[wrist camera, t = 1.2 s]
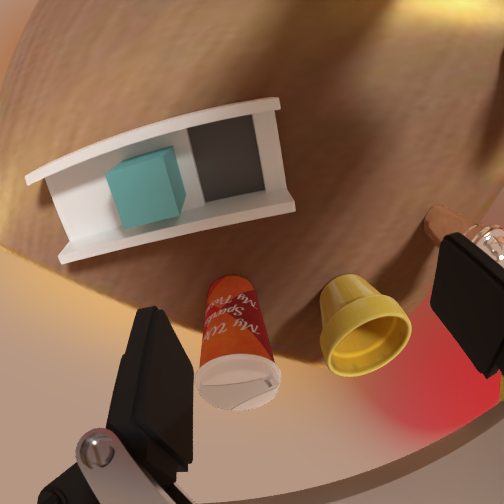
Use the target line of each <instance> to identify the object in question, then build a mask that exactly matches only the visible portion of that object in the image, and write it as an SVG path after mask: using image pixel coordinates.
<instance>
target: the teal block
mask: <svg viewBox="0 0 504 504" xmlns="http://www.w3.org/2000/svg"><path fill="white" fill-rule="evenodd" d="M105 176H106V179H107V182H108V185H109V188H110V191H111V194H112V197H113V200H114V203H115V205H116V208H117V211H118V214H119V216H120V219H121V222H122V224H123V227H124V229H128V228H132V227H136V226H140V225H144V224H148V223H152V222H156V221H160V220H164V219H168V218H173V217H177V216H180V214H181V210H182V207H183V204H184V201H185V198H186V192H185V189H184V185H183V181H182V178H181V174H180V170H179V166H178V163H177V159H176V155H175V151H174V147H173V145H172V146H168V147H165V148H161V149H158V150H154V151H151V152H147V153H144V154H141V155H137V156H134V157H131V158H128V159H125V160H123V161H121V162H120V163H119V164H117V165H116V166H115V167H114V168H112V169H111V170H110V171H108V172H107V173H106V174H105Z"/></svg>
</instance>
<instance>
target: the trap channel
mask: <svg viewBox="0 0 504 504" xmlns="http://www.w3.org/2000/svg"><path fill="white" fill-rule="evenodd" d="M280 109H281V107H280V101H279V97H266V98H260V99H254V100H248V101H242V102H237V103H232V104H227V105H222V106H217V107H213V108H208V109H204V110H200V111H195V112H191V113H187V114H184V115H180V116H176V117H172V118H169V119H165V120H162V121H158V122H155V123H151V124H148V125H145V126H142V127H139V128H136V129H133V130H130V131H127V132H124V133H121V134H118V135H115V136H112V137H109V138H107V139H104V140H101V141H99V142H96V143H94V144H91V145H89V146H86V147H84V148H81V149H79V150H76V151H74V152H72V153H69V154H67V155H65V156H62V157H60V158H58V159H56V160H53V161H51V162H49V163H47V164H45V165H43V166H42V167H40V168H38V169H36V170H34V171H33V172H31V173H29V174H27V175H26V176H24V177H25V180H26V183H27V185H30V184H32V183H34V182H36V181H39V180H41V179H43V178H45V180H46V183H47V186H48V189H49V192H50V194H51V197H52V200H53V202H54V205H55V207H56V210H57V212H58V215H59V217H60V220H61V222H62V224H63V227H64V229H65V231H66V234H67V236H68V238H69V240H70V241H69V243H68V244H67V245H66V246H65V248H64V249H63V250H62V251H61V253H60V254H59V255H58V258H59V260H60V262H61V264H65V263H69V262H73V261H77V260H81V259H85V258H89V257H93V256H97V255H101V254H105V253H109V252H113V251H117V250H121V249H125V248H129V247H133V246H137V245H142V244H146V243H150V242H154V241H159V240H163V239H167V238H172V237H176V236H181V235H185V234H190V233H194V232H199V231H203V230H208V229H212V228H217V227H222V226H226V225H231V224H236V223H241V222H246V221H250V220H255V219H260V218H265V217H270V216H275V215H280V214H285V213H290V212H296V208H295V201H294V199H293V198H292V196H291V195H290V193H289V192H288V190H287V187H286V180H285V173H284V167H283V160H282V154H281V147H280V141H279V135H278V129H277V123H276V117H275V111H274V110H280ZM172 145H173V147H174V151H175V155H176V159H177V163H178V166H179V170H180V174H181V178H182V181H183V185H184V189H185V192H186V198H185V201H184V204H183V207H182V210H181V214H180V216H177V217H173V218H168V219H164V220H160V221H156V222H152V223H148V224H144V225H140V226H136V227H132V228H128V229H124V227H123V224H122V222H121V219H120V216H119V214H118V211H117V208H116V205H115V203H114V200H113V197H112V194H111V191H110V188H109V185H108V182H107V179H106V176H105V174H106V173H107V172H108V171H110V170H111V169H112V168H114V167H115V166H116V165H117V164H119V163H120V162H121V161H123V160H125V159H128V158H131V157H134V156H137V155H141V154H144V153H147V152H151V151H154V150H158V149H161V148H165V147H168V146H172Z"/></svg>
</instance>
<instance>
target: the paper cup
mask: <svg viewBox="0 0 504 504" xmlns="http://www.w3.org/2000/svg"><path fill="white" fill-rule="evenodd" d="M281 377H282V375H281V371H280V369H279V367H278V366H277V365H276V364H275V361H274V358H273V354H272V350H271V347H270V343H269V339H268V335H267V331H266V327H265V324H264V320H263V317H262V313H261V310H260V306H259V303H258V299H257V296H256V293H255V290H254V287H253V285H252V284H251V283H250V282H249V281H248V280H247V279H245V278H243V277H241V276H236V275H228V276H224V277H221V278H219V279H217V280H216V281H215V282H214V283H213V284H212V285H211V287H210V289H209V293H208V299H207V306H206V313H205V322H204V330H203V340H202V349H201V359H200V368H199V370H198V371H197V373H196V376H195V383H196V388H197V390H198V391H199V394H200V396H201V397H202V398H203V399H204V400H205V401H207V402H208V403H209V404H211V405H212V406H215V407H217V408H221V409H226V410H231V411H240V410H249V409H253V408H257V407H259V406H262V405H264V404H266V403H268V402H269V401H271V400H272V399H273V398H274V397H275V395H276V394H277V392H278V389H279V384H280V381H281Z"/></svg>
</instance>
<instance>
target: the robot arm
mask: <svg viewBox="0 0 504 504" xmlns="http://www.w3.org/2000/svg"><path fill="white" fill-rule="evenodd" d="M430 305H431V308H432V309H433V311H434V312H435V313H436V315H437V316H438V317H439V319H440V320H441V321H442V322H443V324H444V325H445V326H446V328H447V329H448V330H449V331H450V333H451V334H452V335H453V337H454V338H455V340H456V341H457V342H458V343H459V345H460V346H461V348H462V349H463V350H464V352H465V353H466V355H467V356H468V357H469V359H470V360H471V361H472V363H473V364H474V366H475V367H476V369H477V370H478V371H479V372H480V373H483V374H484V376H485V378H486V379H488V378H489V377H491V376H492V375H494V374H495V373H497V371H498V369H500V371H501V389H500V401H499V403H498V404H497V405H496V406H494V407H493V408H491V409H490V410H488V411H487V412H485V413H484V414H483V415H481V416H479V417H478V418H476V419H475V420H473V421H471V422H470V423H468V424H466V425H465V426H463V427H461V428H460V429H458V430H457V431H455V432H453V433H451V434H449V435H447V436H446V437H444V438H442V439H440V440H438V441H436V442H434V443H432V444H430V445H429V446H427V447H424V448H422V449H420V450H418V451H416V452H414V453H412V454H410V455H407V456H405V457H403V458H401V459H398V460H395V461H393V462H391V463H388V464H386V465H383V466H380V467H378V468H375V469H372V470H370V471H367V472H364V473H361V474H358V475H355V476H352V477H349V478H346V479H343V480H339V481H336V482H332V483H329V484H325V485H321V486H317V487H313V488H309V489H305V490H300V491H296V492H291V493H286V494H280V495H274V496H268V497H262V498H255V499H248V500H240V501H231V502H220V503H204V504H504V268H503V267H502V266H501V265H500V264H499V263H497V262H496V261H495V260H494V259H493V258H491V257H490V256H489V255H488V254H487V253H485V252H484V251H483V250H482V249H480V248H479V247H478V246H477V245H475V244H474V243H473V242H472V241H470V240H469V239H468V238H466V237H465V236H464V235H463V234H461V233H459V232H455V233H452V234H448V235H446V236H444V238H443V240H442V241H441V243H440V249H439V255H438V262H437V268H436V274H435V279H434V285H433V290H432V295H431V300H430ZM193 380H194V371H193V367H192V364H191V362H190V360H189V358H188V356H187V355H186V353H185V351H184V349H183V347H182V345H181V343H180V341H179V339H178V338H177V336H176V334H175V332H174V330H173V328H172V326H171V324H170V322H169V320H168V318H167V316H166V314H165V312H164V311H163V310H162V309H161V310H158V308H157V307H156V306H152V307H147V308H142V309H138V310H137V312H136V316H135V319H134V323H133V326H132V330H131V333H130V337H129V341H128V344H127V348H126V352H125V354H124V355H123V356H122V358H121V362H120V366H119V370H118V374H117V378H116V382H115V386H114V391H113V395H112V400H111V405H110V409H109V414H108V419H107V424H106V428H95V429H92V430H90V431H88V432H86V433H85V434H84V435H83V436H82V437H81V439H80V440H79V442H78V444H77V447H76V460H77V462H76V463H75V464H74V465H73V466H71V467H70V468H69V469H67V470H66V471H65V472H64V473H62V474H61V475H60V476H59V477H57V478H56V479H55V480H54V481H52V482H51V483H50V484H48V485H47V486H46V487H44V489H43V490H42V491H41V492H40V494H39V496H38V502H37V504H196V503H195V502H194V501H193V500H192V499H191V498H190V497H189V496H188V495H187V494H186V493H185V492H184V491H183V490H182V489H181V488H180V487H179V486H178V485H177V483H176V472H188V464H191V463H192V461H193V382H194V381H193Z"/></svg>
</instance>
